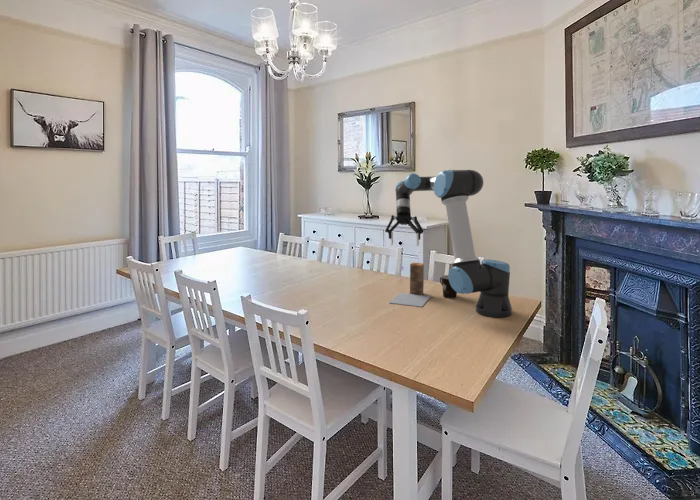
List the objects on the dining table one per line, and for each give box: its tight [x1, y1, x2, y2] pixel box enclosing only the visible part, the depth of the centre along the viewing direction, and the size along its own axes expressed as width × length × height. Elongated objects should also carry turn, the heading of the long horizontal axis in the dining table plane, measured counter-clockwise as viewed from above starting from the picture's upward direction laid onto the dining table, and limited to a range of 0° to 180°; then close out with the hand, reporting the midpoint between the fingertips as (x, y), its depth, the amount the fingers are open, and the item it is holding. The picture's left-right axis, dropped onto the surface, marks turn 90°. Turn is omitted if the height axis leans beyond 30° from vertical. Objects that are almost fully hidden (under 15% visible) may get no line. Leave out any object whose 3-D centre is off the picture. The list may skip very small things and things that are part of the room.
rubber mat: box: [389, 292, 432, 308], centre depth 199 cm, size 16×18×1 cm
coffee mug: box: [439, 274, 458, 299], centre depth 204 cm, size 12×9×10 cm
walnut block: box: [409, 262, 425, 295], centre depth 207 cm, size 6×4×16 cm, turn 66°
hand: (404, 244), depth 211 cm, fingers open, 13 cm apart
